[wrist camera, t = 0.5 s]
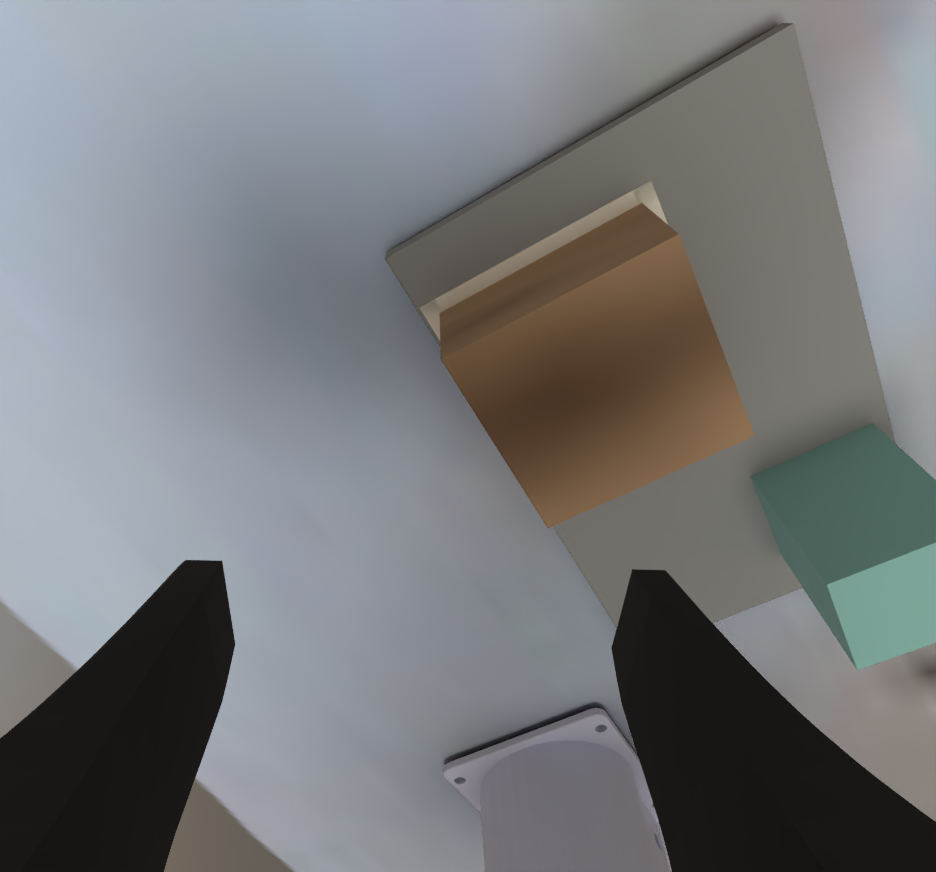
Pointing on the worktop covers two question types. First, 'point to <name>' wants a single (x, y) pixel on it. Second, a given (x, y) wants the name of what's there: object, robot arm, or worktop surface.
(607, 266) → the walnut slab
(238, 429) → the worktop surface
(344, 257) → the worktop surface
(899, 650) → the teal block
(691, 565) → the build mat
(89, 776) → the robot arm
